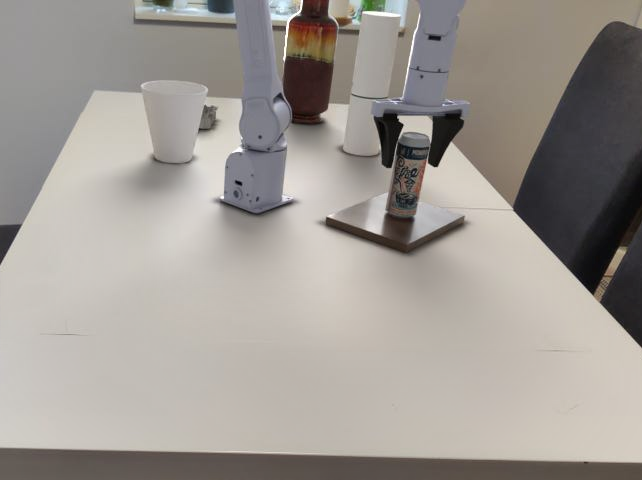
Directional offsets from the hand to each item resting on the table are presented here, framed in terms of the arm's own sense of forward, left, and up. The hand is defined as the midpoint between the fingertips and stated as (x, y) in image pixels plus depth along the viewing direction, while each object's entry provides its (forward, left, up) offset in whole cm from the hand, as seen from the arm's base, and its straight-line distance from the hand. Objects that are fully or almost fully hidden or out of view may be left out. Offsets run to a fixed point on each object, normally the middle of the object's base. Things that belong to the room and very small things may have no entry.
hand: (409, 165), depth 105 cm
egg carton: (+17, +60, -9) cm, 63 cm away
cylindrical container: (+29, +26, -9) cm, 40 cm away
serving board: (-1, 0, -9) cm, 9 cm away
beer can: (0, 0, -8) cm, 8 cm away
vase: (+40, +49, -9) cm, 64 cm away
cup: (-5, +45, -9) cm, 46 cm away
